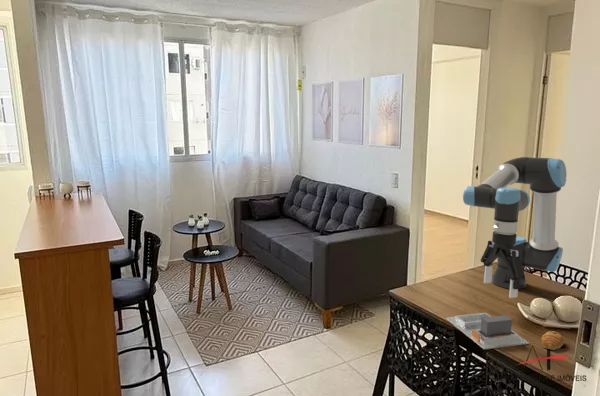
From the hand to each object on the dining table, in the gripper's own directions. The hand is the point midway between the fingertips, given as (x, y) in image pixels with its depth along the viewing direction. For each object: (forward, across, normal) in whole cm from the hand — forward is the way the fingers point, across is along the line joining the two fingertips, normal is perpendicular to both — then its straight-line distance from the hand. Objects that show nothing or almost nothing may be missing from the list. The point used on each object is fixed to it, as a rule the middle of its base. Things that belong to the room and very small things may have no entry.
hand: (499, 289), depth 151 cm
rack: (+19, -6, 0) cm, 19 cm away
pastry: (+19, +8, +17) cm, 27 cm away
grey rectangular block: (+18, 0, 0) cm, 18 cm away
